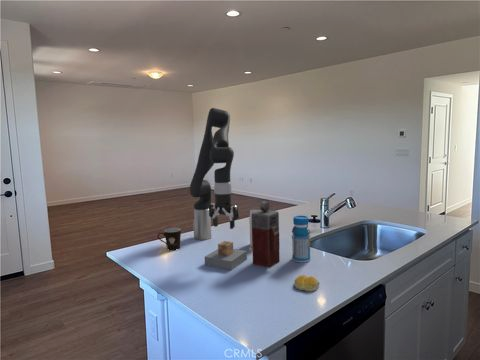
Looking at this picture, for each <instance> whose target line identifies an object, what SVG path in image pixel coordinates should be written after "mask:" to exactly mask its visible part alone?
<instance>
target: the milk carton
mask: <svg viewBox="0 0 480 360" xmlns="http://www.w3.org/2000/svg"><path fill="white" fill-rule="evenodd" d="M260 210H261V209H250V211H249V247H250V248H252V218H251V215H252V213H254V212H257V211H260Z"/></svg>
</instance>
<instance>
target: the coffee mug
mask: <svg viewBox="0 0 480 360" xmlns="http://www.w3.org/2000/svg"><path fill="white" fill-rule="evenodd" d="M163 231H164V232H159V233H157V238H158V240H159V241H160V242H162V243H164V244H166V247H167V250H168V249H169V250H168V251H170V250H174V251H177V250H176V249H178V250H180V249H181V234H182V228H179V227H169V228H165V229H164V230H163ZM160 235H163V236H164V237H165V241H164V240H163V239H161V238H160V237H159V236H160ZM179 248H180V249H179Z"/></svg>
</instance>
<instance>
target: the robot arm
mask: <svg viewBox="0 0 480 360" xmlns="http://www.w3.org/2000/svg"><path fill="white" fill-rule="evenodd" d="M206 118H207V119H206V123H205V128H204V135H203V139H202V142H201V143H202V144H201V145H200V150H199V153H198V158H197V163H196V167H195V169H194V170H195V171H194V173H193V177H192V179H191V182H190V184H189V193H190V196H191V197H192V198H196V199H197V198H199V199H198V201H196V202H195V203H194V204H193V213H194V216H193V217H194V221H193V222H192V228H193V238H194V239H196V240H198V241H200V240H201V241H204V240H209V239H211V238H212V224H213V227H218V226H219V222H218V221H219V220H218V219H219V218H218V217H219V216H220V215H223V216H226V217H227V218H228V219H229V229H230V230H233V229H234V228H235V225H236V224H235V223H236V222H235V221H236V220H238V219H239V206H238V205H232V200H233V199H232V185H231V184H232V183H231V169H232V164H233V161H234V156H235V151H234V150H233V148H232V147H230V146H229V145H230V143H229V131H230V122H231V115H230V112H229V111H228V110H223V109H219V108H215V107H211V108H210V109H209V111H208V114H207V117H206ZM213 127H214V128H218V129H217V130H216V131H215V132H214V134H213V131H212V130H213ZM215 164H225V165H224V166H223V167H220V168H215V169H214V174H213V175H214V176H213V177H214V187H213V188H214V190H213V191H214V192H213V193H214V202H215V203H213V202H212V187H211V183H210V182H209V180H207V179H205V177H206V175H207V174H208V173H209V171H210V170H211V169H212V168H213V166H214V165H215ZM211 218H212V219H211Z"/></svg>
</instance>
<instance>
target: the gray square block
mask: <svg viewBox="0 0 480 360" xmlns="http://www.w3.org/2000/svg"><path fill="white" fill-rule="evenodd" d="M247 252H248V251H247V250H241V249H234V248H233V253H232V254H231V255H229V256H222V255H218V248H217V249H216V250H214V251H212V252H210V253H208V254H206V255H205V256H204V266H207V267H212V268H218V269H223V270H226V271H233V270H235V269H236V268H237V267H238V266H240V265H241V264H242V263H244V262H246V261H247V260H248V254H247Z"/></svg>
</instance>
